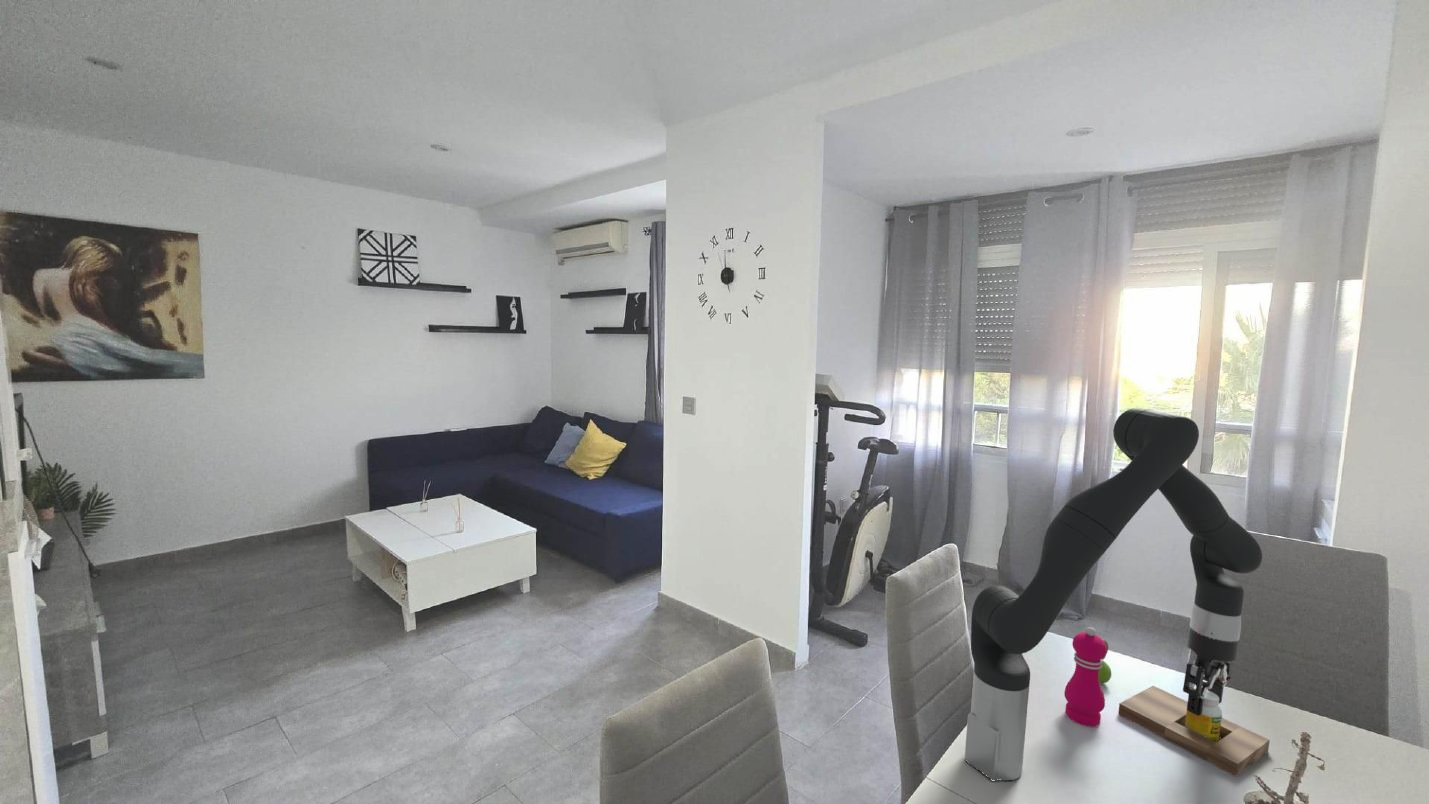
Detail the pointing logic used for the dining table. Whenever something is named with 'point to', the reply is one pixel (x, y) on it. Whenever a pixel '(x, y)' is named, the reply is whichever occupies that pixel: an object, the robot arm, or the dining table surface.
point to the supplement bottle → (1206, 718)
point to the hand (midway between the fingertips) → (1204, 707)
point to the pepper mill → (1086, 680)
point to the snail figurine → (1104, 669)
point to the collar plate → (1168, 722)
